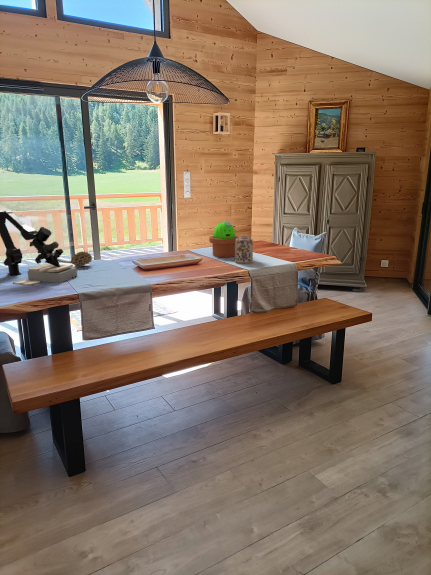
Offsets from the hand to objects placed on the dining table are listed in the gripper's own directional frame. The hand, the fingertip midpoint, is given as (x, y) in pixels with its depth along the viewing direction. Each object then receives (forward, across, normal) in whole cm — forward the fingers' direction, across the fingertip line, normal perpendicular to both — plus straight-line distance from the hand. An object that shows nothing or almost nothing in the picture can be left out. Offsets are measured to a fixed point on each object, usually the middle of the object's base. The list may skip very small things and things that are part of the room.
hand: (59, 266), depth 240 cm
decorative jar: (+69, +77, -58) cm, 119 cm away
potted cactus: (+56, +94, -45) cm, 118 cm away
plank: (-3, -14, +14) cm, 20 cm away
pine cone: (-2, +28, +13) cm, 31 cm away
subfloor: (+1, 0, +9) cm, 9 cm away
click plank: (0, 0, +3) cm, 3 cm away
